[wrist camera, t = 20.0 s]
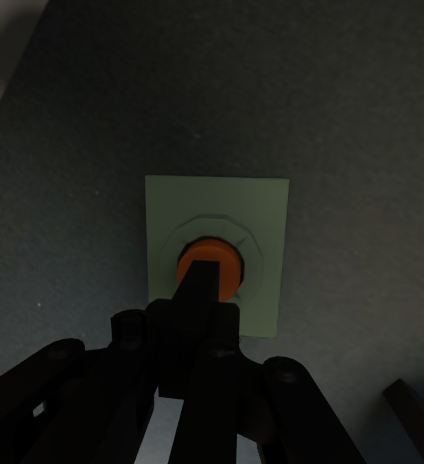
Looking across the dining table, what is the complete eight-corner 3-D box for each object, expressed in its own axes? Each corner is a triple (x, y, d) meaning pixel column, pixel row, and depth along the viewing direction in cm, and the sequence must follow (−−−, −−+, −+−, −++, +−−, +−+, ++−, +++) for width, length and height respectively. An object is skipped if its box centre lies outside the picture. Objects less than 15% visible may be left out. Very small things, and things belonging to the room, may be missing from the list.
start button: (182, 237, 18) (176, 243, 17) (241, 240, 18) (241, 247, 16) (182, 292, 19) (176, 303, 18) (239, 296, 19) (238, 308, 17)
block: (154, 175, 21) (134, 175, 17) (284, 178, 20) (294, 180, 16) (157, 314, 24) (141, 342, 20) (273, 323, 23) (279, 354, 19)
